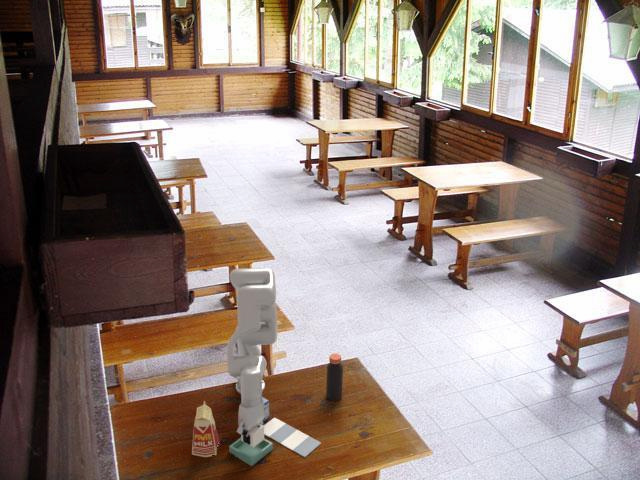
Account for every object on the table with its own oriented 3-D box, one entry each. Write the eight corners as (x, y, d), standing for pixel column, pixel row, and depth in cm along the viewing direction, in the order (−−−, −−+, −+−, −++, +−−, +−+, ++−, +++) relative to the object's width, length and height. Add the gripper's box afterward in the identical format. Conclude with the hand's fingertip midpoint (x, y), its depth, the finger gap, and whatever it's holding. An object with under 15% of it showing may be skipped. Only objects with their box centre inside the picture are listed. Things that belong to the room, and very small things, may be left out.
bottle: (324, 399, 271) (325, 359, 264) (328, 390, 278) (329, 351, 270) (340, 402, 270) (341, 362, 262) (343, 392, 276) (344, 353, 268)
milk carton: (196, 440, 246) (193, 397, 239) (220, 441, 246) (218, 398, 239) (191, 457, 238) (188, 413, 230) (215, 458, 238) (213, 414, 230)
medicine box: (256, 427, 254) (255, 409, 251) (248, 423, 257) (247, 405, 253) (269, 417, 260) (269, 400, 257) (261, 413, 262) (261, 395, 259)
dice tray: (229, 452, 241) (229, 446, 239) (250, 436, 249) (250, 430, 248) (251, 466, 234) (251, 459, 233) (272, 449, 243) (272, 443, 241)
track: (257, 430, 252) (257, 430, 252) (274, 418, 260) (274, 417, 259) (304, 457, 239) (304, 456, 239) (321, 443, 246) (321, 442, 246)
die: (241, 440, 238) (241, 427, 236) (252, 432, 243) (252, 419, 240) (253, 447, 235) (252, 434, 232) (264, 439, 239) (264, 426, 237)
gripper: (260, 383, 240) (261, 422, 247) (227, 405, 227) (229, 446, 234) (275, 391, 236) (275, 430, 243) (242, 413, 223) (243, 455, 230)
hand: (252, 438), depth 238 cm, fingers closed on die, 5 cm apart
